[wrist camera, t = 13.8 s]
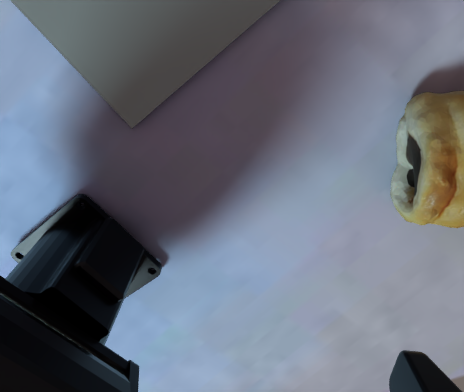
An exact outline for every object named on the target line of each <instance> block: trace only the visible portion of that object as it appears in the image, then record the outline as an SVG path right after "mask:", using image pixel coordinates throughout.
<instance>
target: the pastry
mask: <svg viewBox="0 0 464 392" xmlns="http://www.w3.org/2000/svg"><path fill="white" fill-rule="evenodd" d="M396 142H397V150H396V151H397V160H398V165H397V167H396V170H395V171H394V173H393V176H392V180H391V192H390V194H391V198H392V201H393V203H394V206H395V207H396V209H397V211H398V212H399V213H400V215H401V216H402V217H403V218H404V219H405V220H406V221H408V222H413V223H417V224H419V225H425V224H428V223H431V224H437V225H442V226H446V227H450V228H452V227H453V228H459V227H464V91H452V92H449V93H442V94H441V93H437V94H436V93H431V92H425V93H422V94H419V95H416V96H414V97H413V98H412V99H411V100H410V101H409V102H408V103H407V106H406V108H405V114H404V116H403V117H402V118H401V119H400V121H399V125H398V130H397V135H396Z"/></svg>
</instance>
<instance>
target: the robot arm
mask: <svg viewBox="0 0 464 392" xmlns="http://www.w3.org/2000/svg"><path fill="white" fill-rule="evenodd" d="M79 202H82V203H84V205H85V206H81V205H80V204H79ZM19 252H20V253H22V254H23V255H22V254H20V253H19ZM11 256H12V258H13V259H14V260H15V261H17V262H18V265H17V266H16V267H15V268H14V269H13V270H12V272H11V273H10V274H9V275H8V276H7V277H6V279H5V278H3V277H2V276H0V392H138V381H139V366H138V365H137V364H135V363H134V362H132V361H131V360H129V361H127V360H125V359H124V358H122V357H121V356H119V355H118V354H116V353H115V352H113V351H112V350H110V349H109V348H107V347H106V346H104V345H105V343H106V341H107V338H108V336H109V333H110V331H111V329H112V326H113V324H114V322H115V319H116V317H117V315H118V312H119V310H120V308H121V305H122V303H123V301H124V299H125V298H126V297H128V296H129V295H131V294H132V293H134V292H135V291H137V290H138V289H140V288H141V287H143V286H144V285H146V284H147V283H149V282H150V281H152V280H153V279H155V278H156V277H158V276H159V275H160V272H161V269H162V266H161V264H160V263H159V262H158V261H157V260H156V259H155V258H154V257H153V256H152V255H151V254H150V253H149V252H147V251H146V250H145V249H144V248H143V246H142V245H141V244H140V243H139V242H138V241H137V240H135V239H134V238H133V237H132V236H131V235H130V234H129V233H128V232H127V231H126V230H125V229H124V228H123V227H121V226H120V225H119V224H118V223H117V222H116V221H115V220H114V219H112V218H111V217H110V216H109V215H108V214H107V213H105V212H104V211H103V210H102V209H101V208H100V207H99V206H98V205H97V204H96V203H95V202H94V201H93V200H92V199H90V198H89V197H88V196H86V195H84V194H79V195H77V196H75V197H74V198H73V199H72V200H71V201H69V202H68V203H67V204H66V205H65V206H63V207H62V208H61V209H60V210H59V211H57V212H56V213H55V214H54V215H53V216H51V217H50V218H49V219H48V220H47V221H45V222H44V223H43V224H42V225H41V226H40V227H38V228H37V229H36V230H35V231H34V232H32V233H31V234H30V235H29V236H28V237H26V238H25V239H24V240H23V241H22V242H20V243H19V244H18V245H17V246H16V247H15V248H14V249H13V250H12V252H11ZM150 268H154V269H155V270H151V269H150ZM389 388H390V392H462V391H461V390H460V389H459V388H458V387H457V386H456V385H455V384H454V383H453V382H452V381H451V380H450V379H449V378H448V377H447V376H446V375H445V374H444V373H443V372H442V371H441V370H440V369H439V368H438V366H437V365H436V364H435V363H434V362H433V361H432V360H431V359H430V358H429V357H428V356H427V355H425V354H424V353H422V352H417V351H406V350H404V351H401V352H400V353H399V355H398V358H397V360H396V363H395V365H394V368H393V371H392V373H391V376H390V380H389Z"/></svg>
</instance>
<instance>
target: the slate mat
mask: <svg viewBox="0 0 464 392" xmlns="http://www.w3.org/2000/svg"><path fill="white" fill-rule="evenodd" d="M11 1H12V3H13V4H14V5H15V6H16V7H17V8H18V9H19V10H20V11H21V12H22V13H23V14H24V15H25V16H26V17H27V18H28V19H29V21H30V22H31V23H32V24H33V25H34V26H35V27H36V28H37V29H38V30H39V31H40V32H41V33H42V34H43V35H44V36H45V37H46V38H47V40H48V41H49V42H50V43H51V44H52V45H53V46H54V47H55V48H56V49H57V50H58V51H59V52H60V53H61V54H62V55H63V56H64V58H65V59H66V60H67V61H68V62H69V63H70V64H71V65H72V66H73V67H74V68H75V69H76V70H77V71H78V72H79V73H80V74H81V75H82V77H83V78H84V79H85V80H86V81H87V82H88V83H89V84H90V85H91V86H92V87H93V88H94V89H95V90H96V91H97V92H98V93H99V94H100V96H101V97H102V98H103V99H104V100H105V101H106V102H107V103H108V104H109V105H110V106H111V107H112V108H113V109H114V110H115V111H116V112H117V114H118V115H119V116H120V117H121V118H122V119H123V120H124V121H125V122H126V123H127V124H128V125H129V126H130V127H131V128H133V127H135V126H136V125H137V124H138V123H139V122H140V121H141V120H143V119H144V118H145V117H146V116H147V115H148V114H150V113H151V112H152V111H153V110H154V109H155V108H157V107H158V106H159V105H160V104H161V103H162V102H163V101H165V100H166V99H167V98H168V97H169V96H170V95H172V94H173V93H174V92H175V91H176V90H177V89H178V88H180V87H181V86H182V85H183V84H184V83H185V82H187V81H188V80H189V79H190V78H191V77H192V76H194V75H195V74H196V73H197V72H198V71H199V70H200V69H202V68H203V67H204V66H205V65H206V64H207V63H209V62H210V61H211V60H212V59H213V58H214V57H215V56H217V55H218V54H219V53H220V52H221V51H222V50H224V49H225V48H226V47H227V46H228V45H229V44H231V43H232V42H233V41H234V40H235V39H236V38H237V37H239V36H240V35H241V34H242V33H243V32H244V31H246V30H247V29H248V28H249V27H250V26H251V25H253V24H254V23H255V22H256V21H257V20H258V19H259V18H261V17H262V16H263V15H264V14H265V13H266V12H268V11H269V10H270V9H271V8H272V7H273V6H274V5H276V4H277V3H278V2H279V1H280V0H11Z"/></svg>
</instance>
